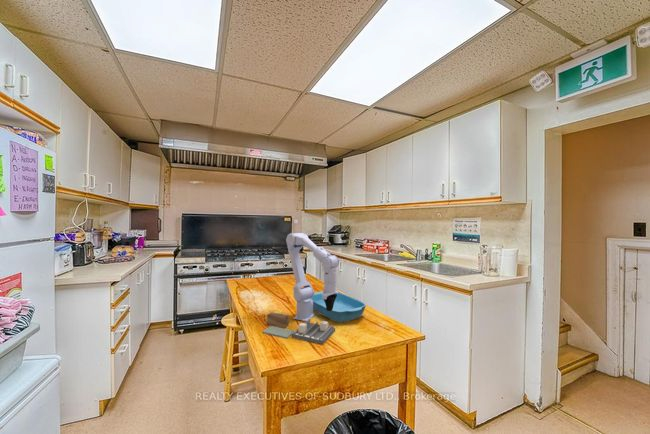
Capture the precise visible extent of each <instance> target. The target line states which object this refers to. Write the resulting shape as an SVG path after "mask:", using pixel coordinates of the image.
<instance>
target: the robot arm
mask: <svg viewBox="0 0 650 434" xmlns="http://www.w3.org/2000/svg"><path fill="white" fill-rule="evenodd" d="M285 242H286V247H287V250H288V257H289V260H290V263H291V267H292V272H293V276H294V280H295V284H294V286H293V287H292V290H293V294H292V295H293V298H294V300H295V302H296V315H295V316H294V317H293V320H298V321H303V322H307V321H308V320H309V321H310V319H312V318H313V317H314V316H315V313H314V309H313V301H312V297H313V296H314V293H315V290H314V288H313V287H312V284H311V282H309V281H308V280H307V278H306V274H305V270H304V266H303V263H302V258H301V254H300V251H301V250H302V248H303V247H305V248H306V249H308V250H309V251H310V252H312V255H313V257H314V258H316V259H317V260H318V261H319V262H320V263H321V266H322V268H323V269H322V271H323V291H322V292H323V294H322V299H324V301H325V305H326V309H327V311H331V310H332V309H333V306H334V302H335V299H336V297H337V293H338V292H339V291H338V287H337V267H338V266H339V264H340V259H339V257H337V255H335V254H334V255H333V254H331V253H330V252H328V251H327V250H325V248H324V247H323V246H317V245H316V243H314V242H313V241H312V240H311V239H310V238H309V235H307V234H306V232H298V233H297V232H296V233H295V232H294V233H292V232H290V233H288V234H287V236H286V239H285Z"/></svg>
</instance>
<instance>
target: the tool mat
mask: <svg viewBox="0 0 650 434" xmlns="http://www.w3.org/2000/svg"><path fill="white" fill-rule="evenodd" d="M294 331H295V330H292V329H286V328H282V327H277V326H273V325H269V327H267V328H266V329H264V330H262V332H261V333H262V334H266V335H271V336H275V337H278V338H282V339H289V338H291V334H292V333H293V332H294Z"/></svg>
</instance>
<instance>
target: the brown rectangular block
mask: <svg viewBox="0 0 650 434" xmlns="http://www.w3.org/2000/svg"><path fill="white" fill-rule="evenodd" d="M266 322H267V323H266V324H267V325H268V326H274V327H278V328H283V329H286V328H287V327H288V326H290V315H288V314H283V313H278V312H274V311H271V312H269V313H267V318H266Z"/></svg>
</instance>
